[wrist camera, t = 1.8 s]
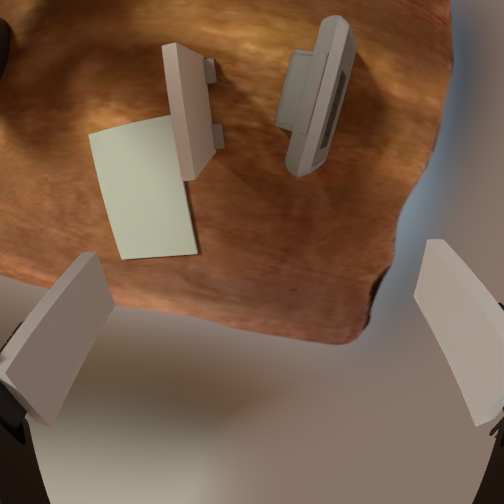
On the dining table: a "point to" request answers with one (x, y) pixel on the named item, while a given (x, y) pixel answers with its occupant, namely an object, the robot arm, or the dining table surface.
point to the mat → (144, 189)
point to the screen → (191, 108)
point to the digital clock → (315, 95)
